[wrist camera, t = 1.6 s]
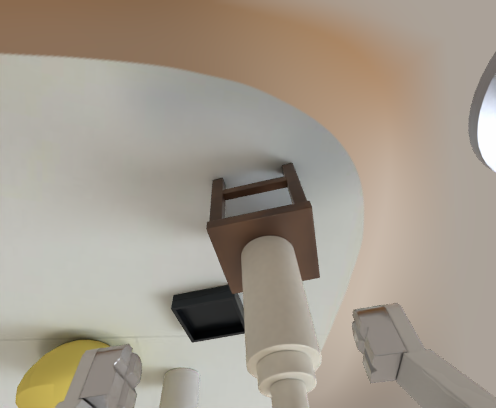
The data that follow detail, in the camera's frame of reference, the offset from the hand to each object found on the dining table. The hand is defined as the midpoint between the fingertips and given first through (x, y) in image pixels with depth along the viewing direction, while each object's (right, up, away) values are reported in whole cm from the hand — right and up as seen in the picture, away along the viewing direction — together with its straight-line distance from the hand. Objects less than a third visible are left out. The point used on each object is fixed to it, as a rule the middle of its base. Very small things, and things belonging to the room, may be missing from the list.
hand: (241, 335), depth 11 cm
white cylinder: (-15, -35, +58) cm, 70 cm away
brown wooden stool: (+2, +5, +31) cm, 31 cm away
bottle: (+2, -1, +22) cm, 23 cm away
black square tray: (-6, -14, +44) cm, 46 cm away
